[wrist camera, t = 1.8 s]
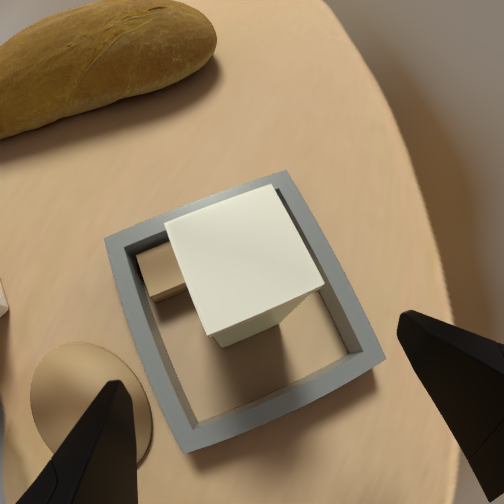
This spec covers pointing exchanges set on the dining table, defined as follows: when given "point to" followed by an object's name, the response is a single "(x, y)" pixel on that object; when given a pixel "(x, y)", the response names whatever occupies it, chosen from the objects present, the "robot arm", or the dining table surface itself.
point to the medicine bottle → (2, 302)
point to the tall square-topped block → (243, 264)
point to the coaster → (82, 391)
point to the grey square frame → (272, 405)
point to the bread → (98, 58)
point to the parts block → (161, 272)
